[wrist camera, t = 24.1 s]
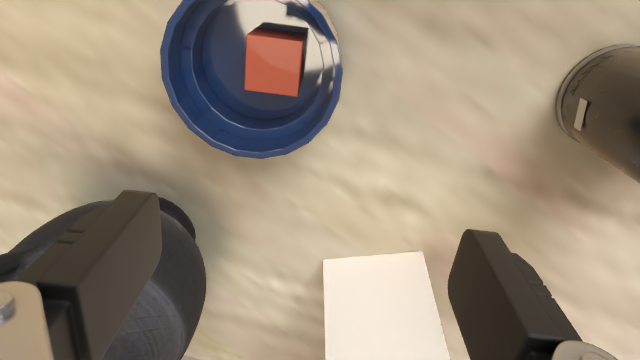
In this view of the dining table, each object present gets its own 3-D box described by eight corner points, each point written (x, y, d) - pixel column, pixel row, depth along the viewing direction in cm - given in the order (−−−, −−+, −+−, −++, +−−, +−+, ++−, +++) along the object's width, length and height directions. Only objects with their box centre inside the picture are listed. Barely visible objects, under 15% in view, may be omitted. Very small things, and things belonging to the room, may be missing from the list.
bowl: (350, -15, 35) (354, -13, 30) (330, 139, 42) (330, 166, 36) (184, -36, 35) (154, -37, 29) (189, 123, 41) (165, 148, 36)
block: (306, 33, 37) (303, 41, 33) (301, 84, 39) (297, 97, 35) (255, 27, 37) (246, 34, 33) (253, 77, 39) (243, 90, 35)
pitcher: (139, 307, 53) (-62, 653, 26) (18, 175, 45) (-453, 480, 18) (255, 259, 49) (161, 609, 22) (146, 105, 41) (-212, 361, 14)
